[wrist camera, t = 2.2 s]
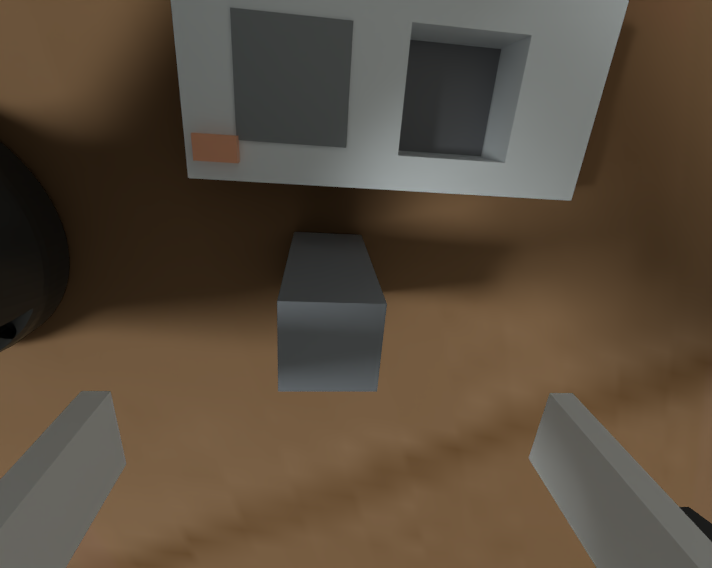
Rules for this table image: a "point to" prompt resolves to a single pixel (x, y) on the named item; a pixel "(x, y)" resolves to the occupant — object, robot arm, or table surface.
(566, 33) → the power strip
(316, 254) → the block
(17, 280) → the robot arm
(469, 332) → the table surface
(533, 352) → the table surface
